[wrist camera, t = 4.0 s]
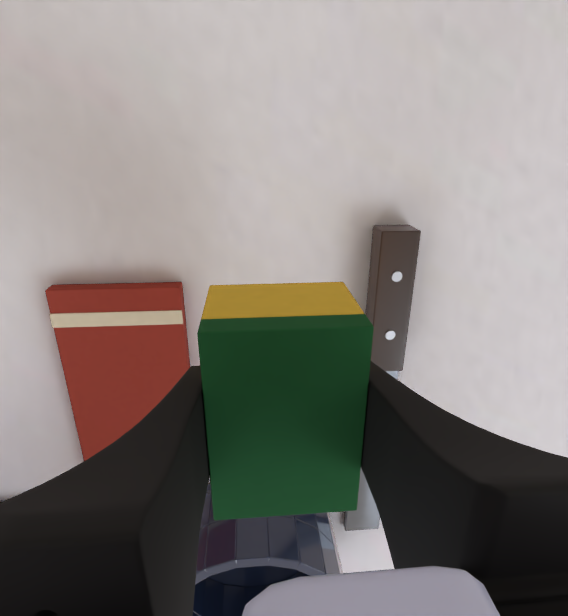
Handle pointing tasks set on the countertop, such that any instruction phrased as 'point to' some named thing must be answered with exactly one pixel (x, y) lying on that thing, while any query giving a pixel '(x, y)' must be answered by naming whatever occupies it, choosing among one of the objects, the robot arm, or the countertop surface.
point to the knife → (387, 326)
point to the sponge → (284, 397)
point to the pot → (257, 556)
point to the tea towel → (118, 353)
